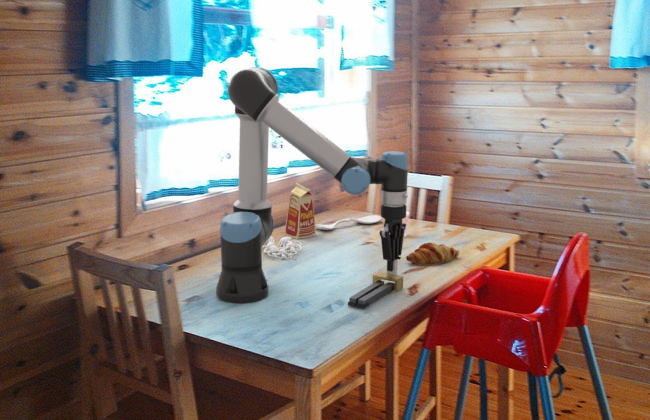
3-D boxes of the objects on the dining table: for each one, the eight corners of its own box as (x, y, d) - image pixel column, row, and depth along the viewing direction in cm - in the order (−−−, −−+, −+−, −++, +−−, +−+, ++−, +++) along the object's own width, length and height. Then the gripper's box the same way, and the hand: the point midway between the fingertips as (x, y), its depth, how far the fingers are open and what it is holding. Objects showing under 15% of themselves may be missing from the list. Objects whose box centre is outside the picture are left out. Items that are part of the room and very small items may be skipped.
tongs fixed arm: (387, 284, 224) (387, 276, 224) (402, 287, 221) (402, 279, 221) (348, 306, 205) (348, 298, 205) (363, 310, 203) (364, 301, 202)
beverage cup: (411, 234, 282) (412, 199, 279) (404, 238, 277) (405, 201, 274) (396, 232, 285) (397, 197, 282) (389, 236, 280) (390, 200, 277)
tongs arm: (377, 287, 221) (377, 280, 220) (384, 288, 220) (384, 281, 219) (347, 305, 205) (347, 298, 205) (355, 307, 204) (355, 299, 203)
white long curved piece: (308, 230, 289) (308, 221, 288) (372, 219, 307) (372, 211, 306) (321, 235, 282) (321, 226, 281) (386, 223, 300) (386, 215, 299)
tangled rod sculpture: (302, 263, 250) (303, 252, 249) (260, 261, 248) (261, 249, 247) (300, 246, 268) (301, 235, 267) (260, 244, 267) (261, 233, 266)
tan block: (378, 283, 224) (379, 271, 223) (403, 288, 220) (403, 276, 219) (372, 287, 221) (372, 275, 220) (396, 292, 216) (397, 279, 215)
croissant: (452, 264, 256) (447, 242, 258) (470, 258, 248) (464, 235, 249) (402, 271, 247) (396, 248, 248) (417, 265, 238) (412, 241, 240)
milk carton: (284, 235, 281) (283, 183, 276) (302, 231, 287) (302, 180, 282) (299, 239, 274) (299, 187, 270) (318, 235, 280) (318, 184, 276)
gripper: (394, 209, 209) (392, 288, 215) (414, 201, 220) (412, 276, 225) (371, 206, 213) (370, 283, 219) (392, 198, 224) (390, 272, 229)
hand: (391, 280), depth 222 cm, fingers closed
